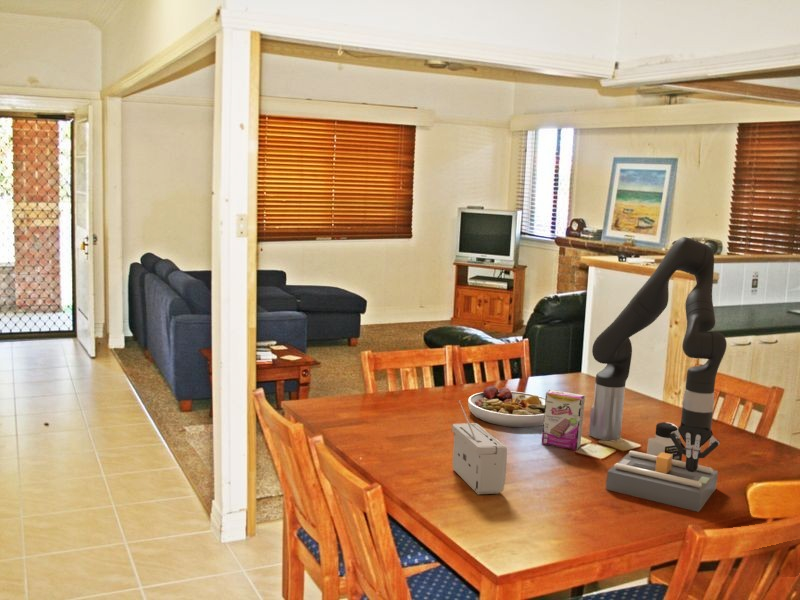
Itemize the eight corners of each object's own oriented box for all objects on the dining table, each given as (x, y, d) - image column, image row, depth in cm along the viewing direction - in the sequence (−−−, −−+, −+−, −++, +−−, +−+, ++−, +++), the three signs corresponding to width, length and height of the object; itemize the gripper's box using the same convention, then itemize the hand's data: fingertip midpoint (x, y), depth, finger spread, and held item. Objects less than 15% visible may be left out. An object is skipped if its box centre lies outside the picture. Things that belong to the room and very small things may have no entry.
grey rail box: (605, 489, 227) (607, 465, 226) (628, 468, 244) (630, 446, 243) (698, 511, 215) (701, 486, 213) (715, 488, 231) (718, 465, 230)
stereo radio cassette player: (505, 495, 219) (511, 420, 216) (475, 497, 217) (480, 421, 214) (475, 467, 239) (480, 397, 236) (447, 468, 237) (452, 398, 233)
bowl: (575, 423, 287) (577, 400, 285) (507, 435, 270) (509, 411, 268) (515, 400, 311) (516, 379, 310) (449, 410, 294) (451, 388, 293)
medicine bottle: (663, 469, 245) (667, 429, 243) (645, 461, 251) (649, 421, 249) (681, 466, 248) (685, 426, 246) (663, 458, 254) (667, 419, 252)
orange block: (655, 471, 227) (656, 456, 226) (660, 466, 231) (661, 452, 231) (666, 473, 225) (668, 459, 225) (671, 468, 230) (672, 454, 229)
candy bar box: (540, 444, 261) (544, 392, 259) (545, 440, 266) (549, 388, 263) (577, 451, 257) (581, 398, 254) (581, 446, 261) (585, 394, 259)
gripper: (727, 408, 222) (720, 472, 224) (675, 399, 228) (669, 461, 231) (721, 415, 215) (714, 480, 218) (668, 405, 222) (661, 469, 225)
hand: (691, 471), depth 224 cm, fingers closed
